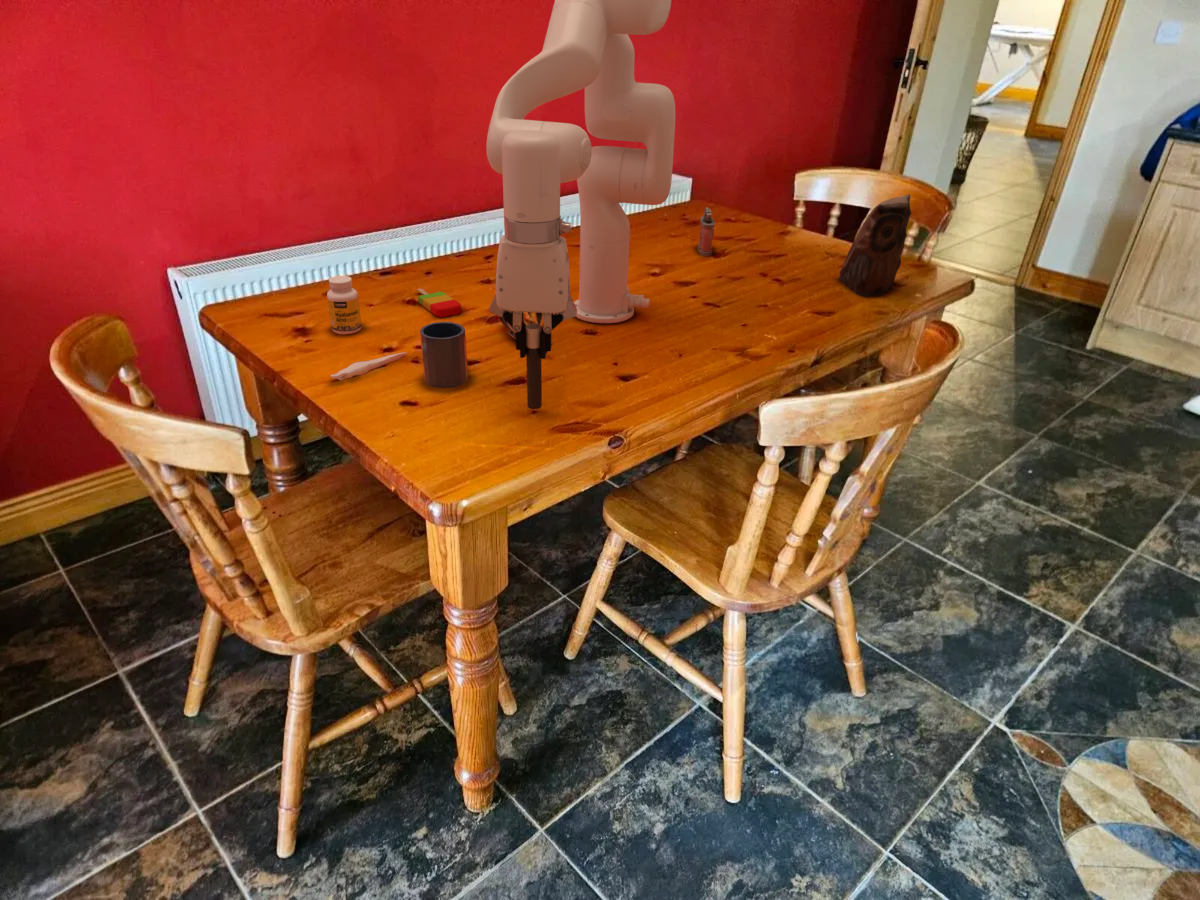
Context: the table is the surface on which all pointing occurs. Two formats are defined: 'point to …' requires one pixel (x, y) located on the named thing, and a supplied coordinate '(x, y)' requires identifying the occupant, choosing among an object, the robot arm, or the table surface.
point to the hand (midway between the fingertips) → (533, 353)
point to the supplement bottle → (343, 306)
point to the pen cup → (444, 354)
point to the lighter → (706, 233)
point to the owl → (877, 249)
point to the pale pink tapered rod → (365, 366)
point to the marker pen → (533, 366)
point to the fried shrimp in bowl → (528, 319)
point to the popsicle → (439, 303)
